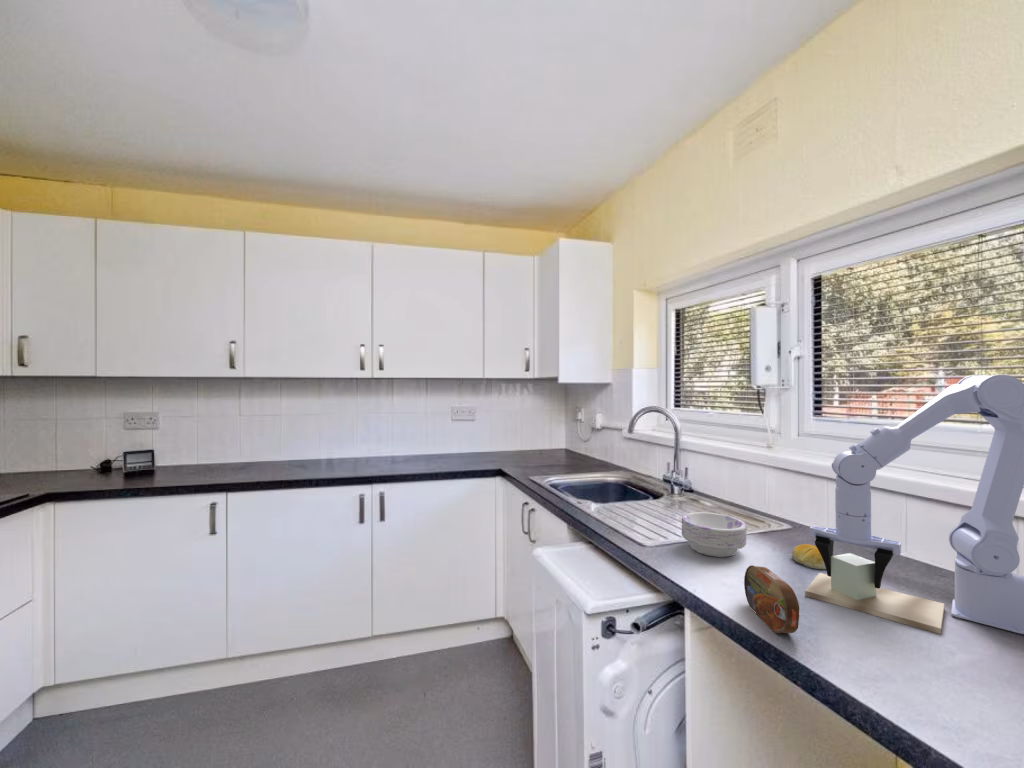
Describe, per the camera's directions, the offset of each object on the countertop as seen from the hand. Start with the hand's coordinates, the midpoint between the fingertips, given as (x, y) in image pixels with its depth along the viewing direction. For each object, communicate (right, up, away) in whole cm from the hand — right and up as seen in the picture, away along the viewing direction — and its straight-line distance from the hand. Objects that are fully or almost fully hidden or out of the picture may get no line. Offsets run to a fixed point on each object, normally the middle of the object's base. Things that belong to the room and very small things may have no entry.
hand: (853, 580), depth 91 cm
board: (+2, -3, -2) cm, 4 cm away
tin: (-21, -4, -8) cm, 23 cm away
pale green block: (0, -2, 0) cm, 2 cm away
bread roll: (+4, -4, +17) cm, 18 cm away
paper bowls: (-17, -4, +26) cm, 31 cm away
